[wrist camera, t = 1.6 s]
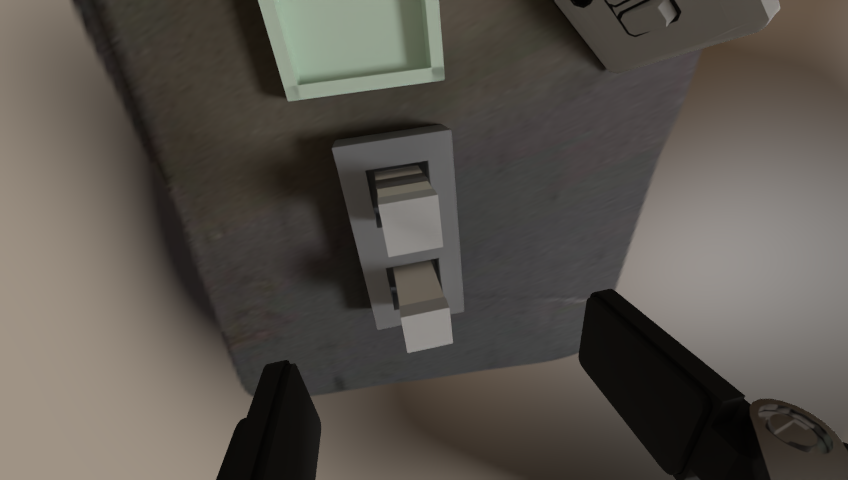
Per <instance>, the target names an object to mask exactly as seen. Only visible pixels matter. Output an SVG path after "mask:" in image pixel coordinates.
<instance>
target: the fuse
mask: <svg viewBox="0 0 848 480" xmlns="http://www.w3.org/2000/svg"><path fill="white" fill-rule="evenodd" d="M393 271H394V276H395V282H396V287H397V293H398V299H399V305H400V306H399V310H400V316H401V322H402V327H403V332H404V337H405V342H406V347H407V352H408V353H411V352H415V351H419V350H424V349H428V348H433V347H437V346H442V345H446V344H451V343H453V338H452V329H451V319H450V309H449V305H448V303H447V300H446V297H444V294H443V292H442V289H441V287H440V284H439V281H438V279H437V276H436V273H435V271H434V268H433V265H432V263H431V260H426V261H420V262H415V263H410V264H405V265H400V266H395V267H393Z"/></svg>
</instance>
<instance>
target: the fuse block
mask: <svg viewBox="0 0 848 480" xmlns="http://www.w3.org/2000/svg"><path fill="white" fill-rule="evenodd" d="M332 151H333V155H334V159H335V163H336V167H337V171H338V175H339V179H340V183H341V187H342V191H343V195H344V199H345V202H346V206H347V210H348V214H349V218H350V222H351V226H352V230H353V234H354V238H355V242H356V246H357V250H358V254H359V258H360V262H361V266H362V270H363V274H364V278H365V282H366V286H367V290H368V294H369V298H370V302H371V306H372V310H373V313H374V317H375V321H376V325H377V329H378V330H380V329H385V328H390V327H394V326H399V325H402V322H401V316H400V310H399V306H400V305H399V299H398V293H397V287H396V282H395V276H394V271H393V267H395V266H400V265H405V264H410V263H415V262H420V261H426V260H431V263H432V265H433V268H434V271H435V273H436V276H437V279H438V281H439V284H440V287H441V289H442V292H443V294H444V297H446V300H447V303H448V305H449V309H450V315H451V314H455V313H460V312H464V299H463V285H462V271H461V257H460V243H459V229H458V215H457V202H456V188H455V174H454V160H453V146H452V132H451V129H449V128H447V127H446V126H444V125H442V124H439V125H432V126H426V127H419V128H413V129H406V130H399V131H393V132H386V133H379V134H373V135H366V136H360V137H353V138H346V139H340V140H335V142H334V144H333V146H332ZM416 162H417V164H418V165H419V168H420V170H421V171H422V173H424V174H425V176H426V177H427V179H428V182H429V184H430V185H431V187H432V188H434V189H435V191H436V193H437V194H438V200H439V210H440V220H441V230H442V239H443V247H440V248H435V249H429V250H424V251H419V252H414V253H408V254H403V255H398V256H393V257H388V252H387V247H386V242H385V237H384V232H383V227H382V222H381V217H380V212H379V207H378V200H377V198H378V196H377V191H376V184H375V175H374V169H379V168H385V167H391V166H397V165H403V164H410V163H416Z"/></svg>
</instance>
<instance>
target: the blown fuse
mask: <svg viewBox="0 0 848 480" xmlns="http://www.w3.org/2000/svg"><path fill="white" fill-rule="evenodd" d="M374 175H375V184H376V191H377V196H378V198H377V200H378V207H379V212H380V217H381V222H382V227H383V232H384V237H385V242H386V247H387V252H388V257H393V256H398V255H403V254H408V253H414V252H419V251H424V250H429V249H435V248H440V247H443V239H442V230H441V220H440V210H439V200H438V194H437V193H436V191H435V189H434V188H432V187H431V185H430V184H429V182H428V179H427V177H426V176H425V174H424V173H422V171H421V170H420V168H419V165H418V164H417V162H416V163H410V164H403V165H397V166H391V167H385V168H379V169H374Z"/></svg>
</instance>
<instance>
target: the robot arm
mask: <svg viewBox="0 0 848 480" xmlns="http://www.w3.org/2000/svg"><path fill="white" fill-rule="evenodd" d="M579 361H580V364H581V366H582V367H583V369H584V370H585V371H586V372H587V374H588V375H589V376H590V378H591V379H592V380H593V382H594V383H595V384H596V385H597V387H598V388H599V389H600V390H601V392H602V393H603V394H604V396H605V397H606V398H607V399H608V401H609V402H610V403H611V404H612V406H613V407H614V408H615V409H616V411H617V412H618V413H619V415H620V416H621V417H622V418H623V420H624V421H625V422H626V424H627V425H628V426H629V427H630V428H631V430H632V431H633V432H634V434H635V435H636V436H637V438H638V439H639V440H640V441H641V443H642V444H643V445H644V446H645V448H646V449H647V450H648V452H649V453H650V454H651V455H652V457H653V458H654V459H655V460H656V462H657V463H658V464H659V466H660V467H661V468H662V469H663V470H664V471H665V472H666V473H667V474H669V475H673V476H674V477H675V479H676V480H848V444H847V443H844V442H842V441H841V439H840V438H839V437H838V435H837V434H836V433H835V431H833V430H832V429H831V428H830V427H829V426H828V425H827V424H826V423H825V422H823V421H822V420H820V419H819V418H817V417H816V416H814V415H813V414H811V413H810V412H808V411H806V410H804V409H802V408H800V407H798V406H796V405H793V404H790V403H787V402H784V401H780V400H775V399H758V400H756V401H753V402H752V404H749V403H748V402H747V401H746V400H745V399H744V397H745V395H743V394H742V393H741V392H740V391H738V390H737V389H736V388H735V387H733V386H732V385H731V384H730V383H729V382H727V381H726V380H725V379H723V378H722V377H721V376H720V375H719V374H717V373H716V372H715V371H714V370H712V369H711V368H710V367H709V366H707V365H706V364H705V363H704V362H703V361H701V360H700V359H699V358H698V357H696V356H695V355H694V354H693V353H691V352H690V351H689V350H688V349H686V348H685V347H684V346H682V345H681V344H680V343H679V342H678V341H677V340H675V339H674V338H673V337H671V336H670V335H669V334H668V333H667V332H665V331H664V330H663V329H662V328H660V327H659V326H658V325H657V324H655V323H654V322H653V321H652V320H650V319H649V318H648V317H647V316H646V315H644V314H643V313H642V312H641V311H639V310H638V309H637V308H636V307H634V306H633V305H632V304H631V303H629V302H628V301H627V300H626V299H624V298H623V297H622V296H621V295H619V294H618V293H617V292H616V291H614V290H613V289H607V290H602V291H598V292H594V293H592V294H591V296H590V298H588V299H587V302H586V309H585V316H584V322H583V329H582V336H581V343H580V349H579ZM320 436H321V422H320V418H319V416H318V414H317V411H316V409H315V407H314V404H313V402H312V400H311V397H310V395H309V393H308V391H307V388H306V386H305V384H304V381H303V379H302V377H301V375H300V372H299V370H298V368H297V366H296V364H295V363H294V364H290V363H289V361H288V360H284V361H280V362H275V363H271V364H267V365H266V366H265V367H264V369H263V372H262V375H261V378H260V380H259V383H258V386H257V389H256V392H255V395H254V398H253V400H252V404H251V406H250V409H249V412H248V415H247V418H244V419H242V420H240V422H239V423H238V424H237V426H236V428H235V430H234V433H233V436H232V438H231V441H230V444H229V447H228V449H227V452H226V455H225V457H224V460H223V463H222V465H221V468H220V471H219V473H218V476H217V479H216V480H315V477H316V469H317V461H318V452H319V444H320Z"/></svg>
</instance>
